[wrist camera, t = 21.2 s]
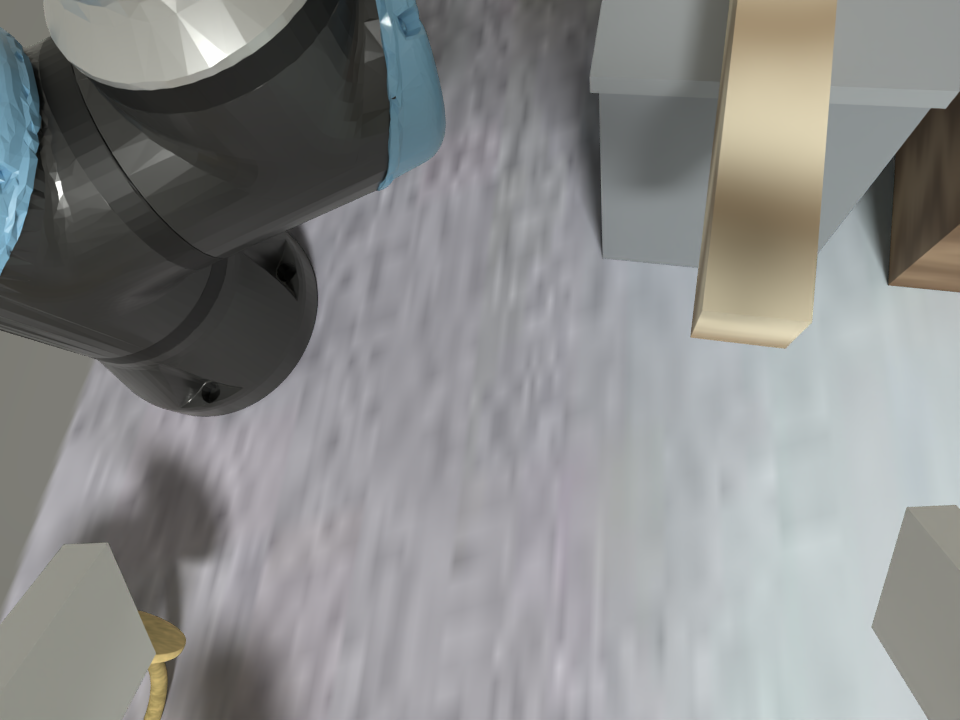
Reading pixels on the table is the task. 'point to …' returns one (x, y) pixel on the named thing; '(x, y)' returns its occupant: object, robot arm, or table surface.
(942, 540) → the robot arm
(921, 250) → the walnut pedestal
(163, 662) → the wall sconce
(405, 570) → the table surface
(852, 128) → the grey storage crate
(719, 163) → the pale wooden bar
